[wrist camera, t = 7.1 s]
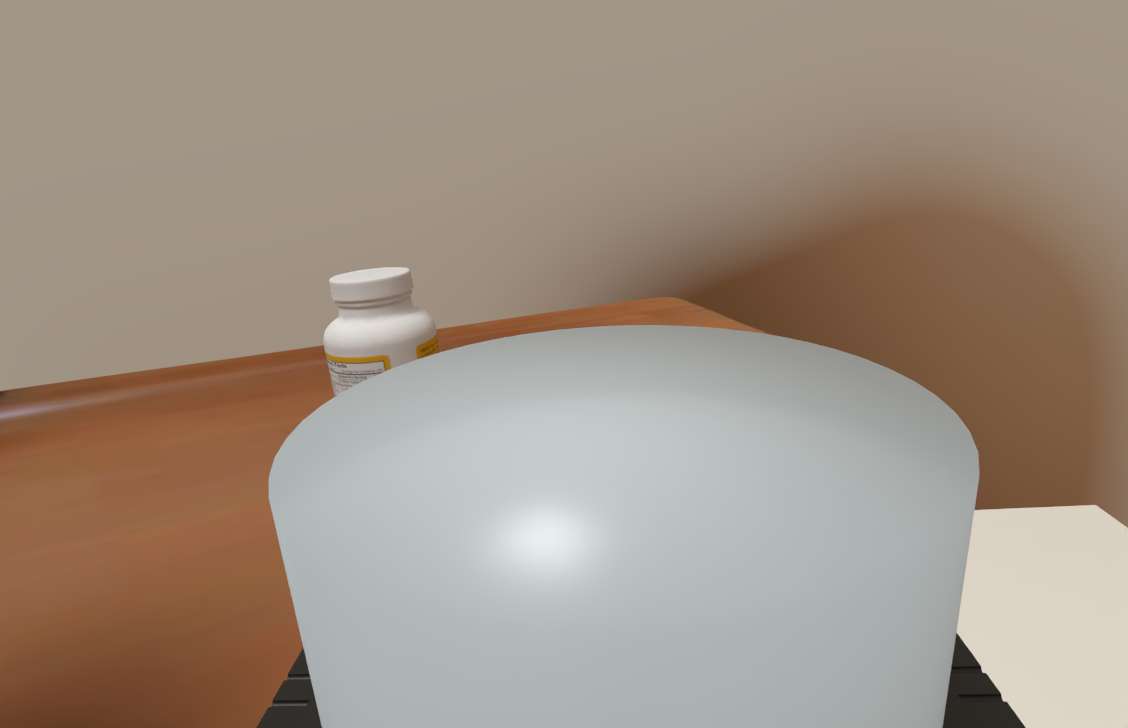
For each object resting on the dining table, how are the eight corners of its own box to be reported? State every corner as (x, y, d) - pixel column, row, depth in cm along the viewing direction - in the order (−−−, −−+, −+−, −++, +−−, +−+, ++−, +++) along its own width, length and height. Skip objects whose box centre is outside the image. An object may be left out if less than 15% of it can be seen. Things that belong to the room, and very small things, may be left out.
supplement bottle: (435, 439, 47) (407, 259, 43) (471, 472, 42) (444, 270, 38) (340, 467, 44) (301, 276, 40) (366, 506, 39) (324, 290, 35)
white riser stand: (610, 899, 17) (597, 751, 16) (606, 634, 27) (598, 526, 25) (1355, 898, 16) (1419, 737, 15) (1074, 620, 26) (1095, 505, 24)
